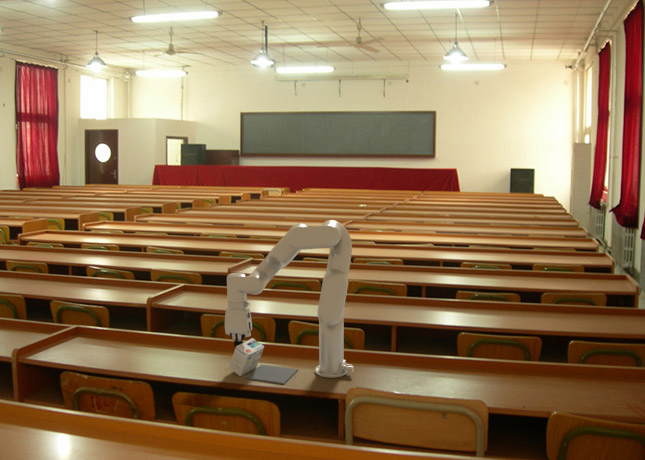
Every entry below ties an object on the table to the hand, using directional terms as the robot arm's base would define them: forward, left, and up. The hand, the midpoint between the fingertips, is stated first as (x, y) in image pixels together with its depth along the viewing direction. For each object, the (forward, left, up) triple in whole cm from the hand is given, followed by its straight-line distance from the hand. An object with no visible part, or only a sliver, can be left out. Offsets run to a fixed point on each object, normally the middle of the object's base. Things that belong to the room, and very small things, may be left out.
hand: (238, 349), depth 245 cm
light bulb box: (-2, 0, -8) cm, 8 cm away
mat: (-14, 0, -9) cm, 17 cm away
